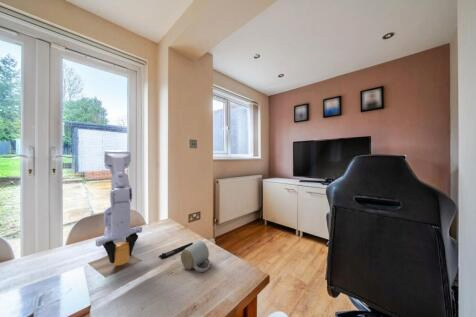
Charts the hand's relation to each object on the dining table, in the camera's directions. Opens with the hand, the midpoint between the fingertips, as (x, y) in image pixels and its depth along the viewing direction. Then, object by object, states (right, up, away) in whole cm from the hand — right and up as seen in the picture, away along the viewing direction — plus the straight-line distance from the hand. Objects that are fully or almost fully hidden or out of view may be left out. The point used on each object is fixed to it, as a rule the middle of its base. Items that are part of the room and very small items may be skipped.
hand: (120, 258), depth 65 cm
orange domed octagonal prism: (0, -1, 0) cm, 1 cm away
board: (-3, -4, +2) cm, 6 cm away
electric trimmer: (+17, -5, +10) cm, 20 cm away
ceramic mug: (+27, -4, +2) cm, 28 cm away
